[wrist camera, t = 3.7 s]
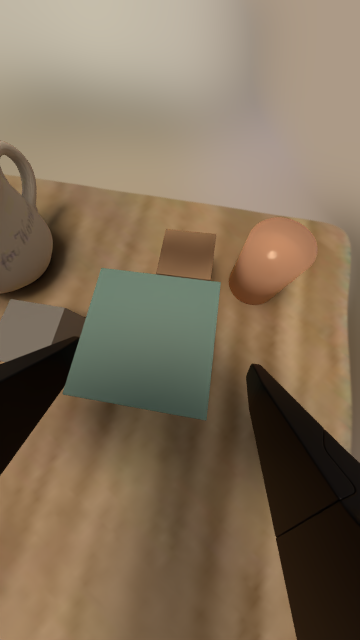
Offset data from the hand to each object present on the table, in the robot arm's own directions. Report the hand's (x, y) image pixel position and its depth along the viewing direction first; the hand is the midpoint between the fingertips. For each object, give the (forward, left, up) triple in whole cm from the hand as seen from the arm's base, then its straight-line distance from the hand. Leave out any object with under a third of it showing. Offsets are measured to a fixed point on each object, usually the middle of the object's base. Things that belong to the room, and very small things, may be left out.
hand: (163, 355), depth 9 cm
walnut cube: (+5, -7, -8) cm, 12 cm away
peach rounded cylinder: (0, -12, -8) cm, 14 cm away
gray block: (+10, +7, -8) cm, 14 cm away
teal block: (0, 0, -8) cm, 8 cm away
